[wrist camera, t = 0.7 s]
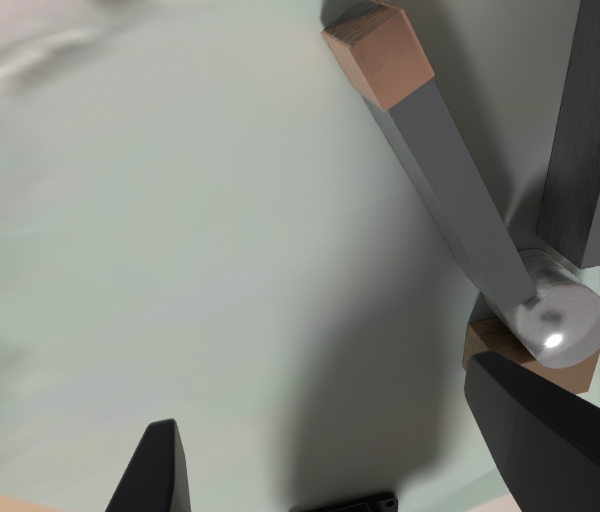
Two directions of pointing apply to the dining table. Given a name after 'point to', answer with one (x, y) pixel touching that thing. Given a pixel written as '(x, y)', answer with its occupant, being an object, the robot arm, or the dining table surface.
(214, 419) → the dining table surface
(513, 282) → the bar
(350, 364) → the dining table surface
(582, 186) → the frame
